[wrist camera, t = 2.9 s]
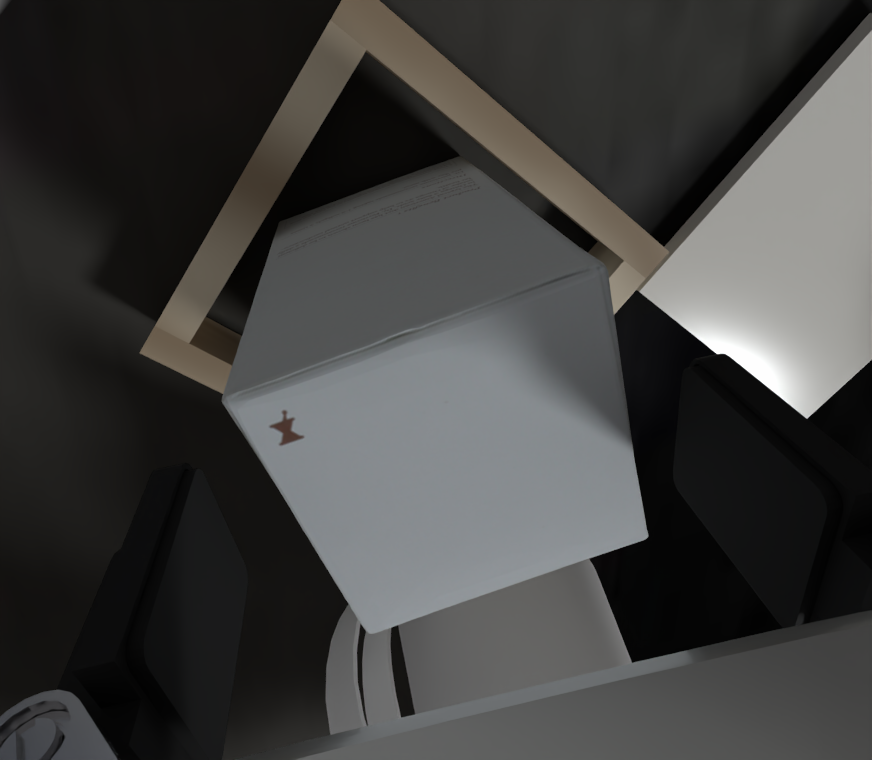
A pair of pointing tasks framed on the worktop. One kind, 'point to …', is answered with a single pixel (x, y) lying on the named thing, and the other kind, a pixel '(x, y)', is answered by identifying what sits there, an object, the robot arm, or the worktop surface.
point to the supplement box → (437, 393)
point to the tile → (788, 243)
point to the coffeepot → (477, 648)
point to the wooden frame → (293, 132)
